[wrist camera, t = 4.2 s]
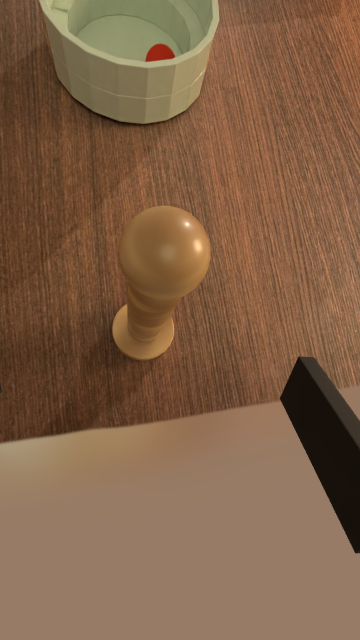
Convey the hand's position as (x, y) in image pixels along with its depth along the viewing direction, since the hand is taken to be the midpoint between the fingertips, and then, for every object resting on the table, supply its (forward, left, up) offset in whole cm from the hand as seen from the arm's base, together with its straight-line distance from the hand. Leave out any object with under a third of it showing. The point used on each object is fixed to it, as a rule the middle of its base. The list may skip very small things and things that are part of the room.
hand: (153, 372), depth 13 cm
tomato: (-16, +25, -10) cm, 31 cm away
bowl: (-19, +25, -12) cm, 34 cm away
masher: (-2, +3, -12) cm, 13 cm away
